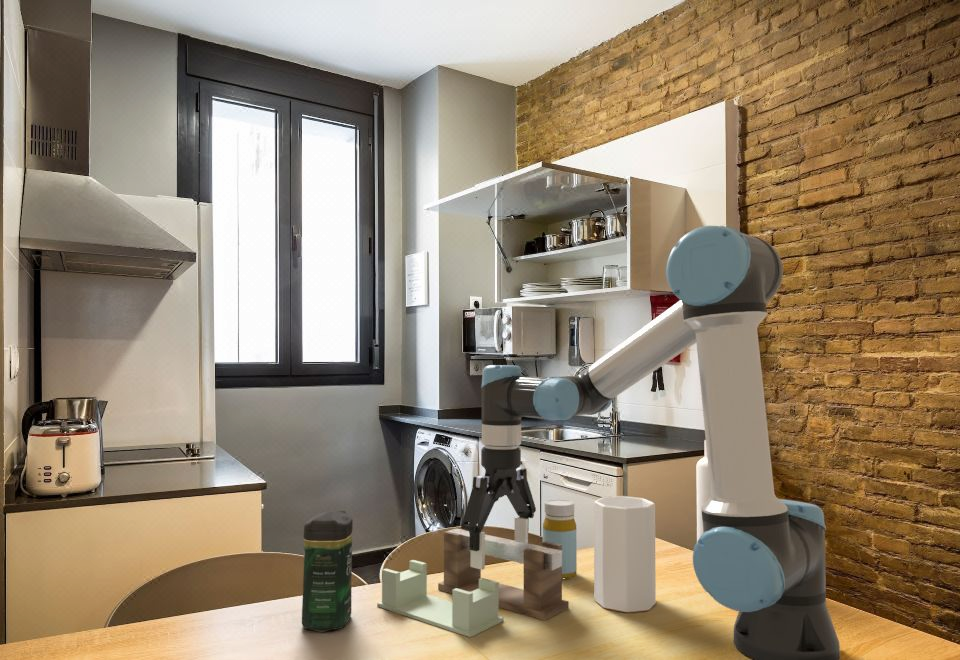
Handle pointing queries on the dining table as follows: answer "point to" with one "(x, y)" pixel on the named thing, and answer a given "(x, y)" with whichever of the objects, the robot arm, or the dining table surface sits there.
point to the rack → (533, 601)
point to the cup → (624, 553)
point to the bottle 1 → (562, 532)
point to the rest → (440, 601)
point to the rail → (512, 549)
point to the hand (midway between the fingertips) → (500, 559)
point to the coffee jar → (327, 571)
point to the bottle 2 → (702, 489)
